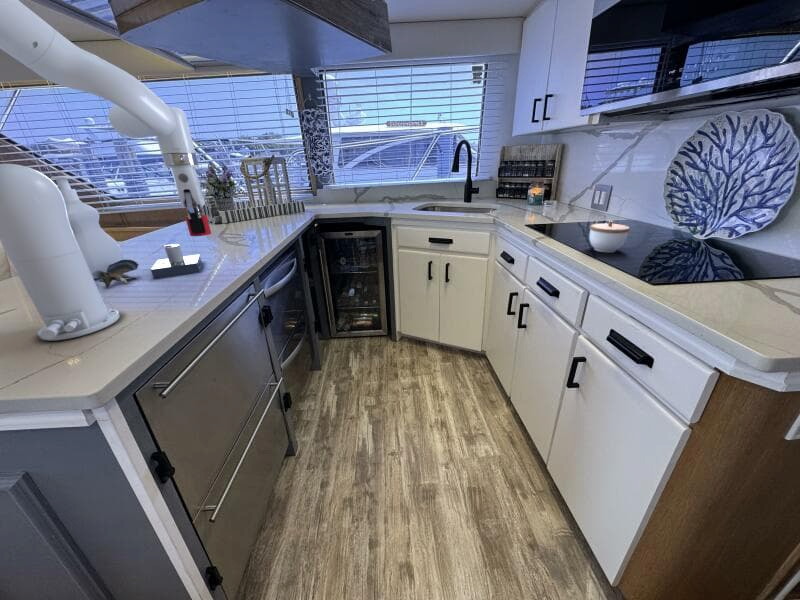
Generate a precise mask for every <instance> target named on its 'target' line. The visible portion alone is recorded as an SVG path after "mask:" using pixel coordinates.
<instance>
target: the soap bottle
mask: <svg viewBox="0 0 800 600" xmlns="http://www.w3.org/2000/svg"><path fill="white" fill-rule="evenodd" d="M50 179H51V180H53V179H54V180H55V181H56V183H57V187H58V188H59V190H60V192H61V194H62V196H63V199H64V202H65V206H66V210H67V215H68V219H69V223H70V226H71V229H72V231H73V234H74V236H75V239H76V241H77V243H78V246H79V248H80V250H81V252H82V254H83V256H84V259H85V261H86V263H87V265H88V268H89V270H90V272H91V275H92V277H93V279H94V280H95V279H96V280H97V279H98V278H97V277H95V276H94V275H93V272H95V271H97V270H100V271H103V272H107V269H108V266H109V265H111V264H114V263H116V262H118V261H120V260H124V256H123V255H124V254H123V249H122V248H121V246H120V245H119V244H118V241H117V240H116V239H114V238H113V237H112V236H111V235H109V234H108V233H107V232H105V231H104V229H103V228H102V227H101V225H100V223H99V222H100V213H99V211H98V209H97V208H96V207H95V208H94V207H93V206H91V205H89V204H86V203H84V202H83V201H82V200H81V199H80V198H79V195H78V193H77V191H76V188H71V185H70V183H69V180H76V179H77V178H76V177H74V176H71V175H55V176H51V178H50Z"/></svg>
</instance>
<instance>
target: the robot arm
mask: <svg viewBox="0 0 800 600" xmlns="http://www.w3.org/2000/svg"><path fill="white" fill-rule="evenodd" d="M0 50H2V51H3V52H4V53H6V54H8V55H9V56H11V57H12V58H13V59H15V60H17V61H18V62H19V63H21V64H22V65H24V66H25V67H26V68H28V69H29V70H31V71H33V72H34V73H35V74H37V75H38V76H40V77H41V78H43V79H45V80H46V81H48V82H50V83H53V84H56V85H58V86H62V87H63V88H64V87H65V88H69V89H72V90H76V91H81V92H83V93H88V94H91V95H94V96H97V97H99V98H101V99H104V100H106V101H108V102H110V103H112V104H114V105H112V106H111V107H110V108H109V110H108V114H107V117H108V118H107V119H108V121H109V123H110V125H111V127H112V128H113V129H114V130H115V131H116V132H117V133H119V134H120V135H122V136H124V137H126V138H129V139H133V140H144V139H156V140H157V143H158V147H159V150H160V154H161V157H162V161H163V163H164V168H165V169H170V170H171V173H172V178H173V180H174V185H175V188H176V191H177V194H178V197H179V200H180V203H181V206H182V207H183V208H185V209H186V213H187V216H188V218H189V219H188V220H189V223H190V227H191V230H192V233H193V234H200V233H205V232H206V230H205V227H204V223H203V219H202V218H201V216H200V212H201V213H202V215H204V214H203V210H202V207H204V206H205V205H206V201H205V198H204V194H203V190H202V187H201V183H200V179H199V175H198V172H197V170H196V168H200V165H199V161H198V157H197V154H196V149H195V145H194V142H193V138H192V134H191V130H190V129H191V128H190V125H189V122H188V118H187V115H186V112H185V111H184V110H183V109H181V108H179V107H176V106H170V105H169V106H168V105H167V104H166V102H164V100H162V99H161V98H160V97H159V96H158V95H157V94H156V93H155V92H153V90H151V89H150V88H149V87H147V86H146V85H145V84H144V83H142V81H140V80H139V79H138V78H136V77H135V76H133V75H132V74H130V73H129V72H127V71H126V70H124V69H122V68H121V67H118V66H116V65H114V64H113V63H110V62H109V61H107V60H105V59H103V58H101V57H99V56H98V55H95V54H94V53H92V52H90V51H87V50H85V49H83V48H82V47H79V46H78V45H76V44H75V43H73V42H72V41H70V40H69V39H68V38H67V37H65V36H64V35H63V34H62V33H60V32H59V31H58V30H57V29H55V28H54V27H53V26H51V25H50V24H49V23H48V22H46V21H45V20H44V19H43V18H41V16H39V15H37V14H36V13H35V12H34V11H32V10H31V9H30V8H29V7H28V6H26V5H25V4H24V3H22V2H21V1H20V0H0ZM0 243H1V245H2V247H3V250H4V251H5V254H6V255H7V257H8V259H9V261H10V262H11V264H12V266H13V268H14V270H15V271H16V273H17V275H18V277H19V279H20V281H21V283H22V284H23V286H24V288H25V290H26V292H27V294H28V295H29V297H30V299H31V301H32V303H33V305H34V307H35V308H36V311H37V312H38V314H39V316H40V318H41V320H42V321H43V323H44V325H43V326H42V327H41V328H40V329H38V331H37V336H38V338H39V339H40V340H42V341H49V342H50V341H51V342H53V341H54V342H55V341H63V340H70V339H73V338H79V337H83V336H86V335H89V334H93V333H95V332H98V331H101V330H103V329H106V328H107V327H109V326H111V325H113V324H115V323H116V322H117V321H118V320H119V319H120V316H121V315H120V312H119V311H118V310H116V309H113V308H107V306H106V304H105V302H104V299H103V297H102V295H101V293H100V291H99V288H98V286H97V284H96V281H95V279H93V277H92V275H91V272H90V270H89V268H88V265H87V263H86V261H85V259H84V256H83V254H82V252H81V250H80V248H79V246H78V243H77V241H76V239H75V236H74V234H73V231H72V229H71V226H70V223H69V219H68V215H67V210H66V206H65V202H64V199H63V196H62V194H61V192H60V188H59V186H58V185H57V184H56V183H55V182H54V181H53V179H52V178H49V177H48V176H47V175H45V174H44V173H42V172H41V171H39V170H37V169H34V168H32V167H29V166H25V165H21V164H17V163H0Z"/></svg>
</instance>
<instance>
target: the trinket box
mask: <svg viewBox="0 0 800 600" xmlns="http://www.w3.org/2000/svg"><path fill="white" fill-rule="evenodd" d="M613 221H614V220H608V223H607V222H605V223H604V222H603V223H601V222H600V223H593V224H590V227H589V229H590V230H589V235H588V236H589V237H588V238H589V244H590V246H591V247H592V248H593V250H594V251H596V252H600V253H615V252H616V251H618V250H619V249H620V248H622V247H623V245H624V244H625V243H626V241H627V238H628V235H629V232H630V230H631V228H630V226H628V225H625V224H619V223H614V222H613Z"/></svg>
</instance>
